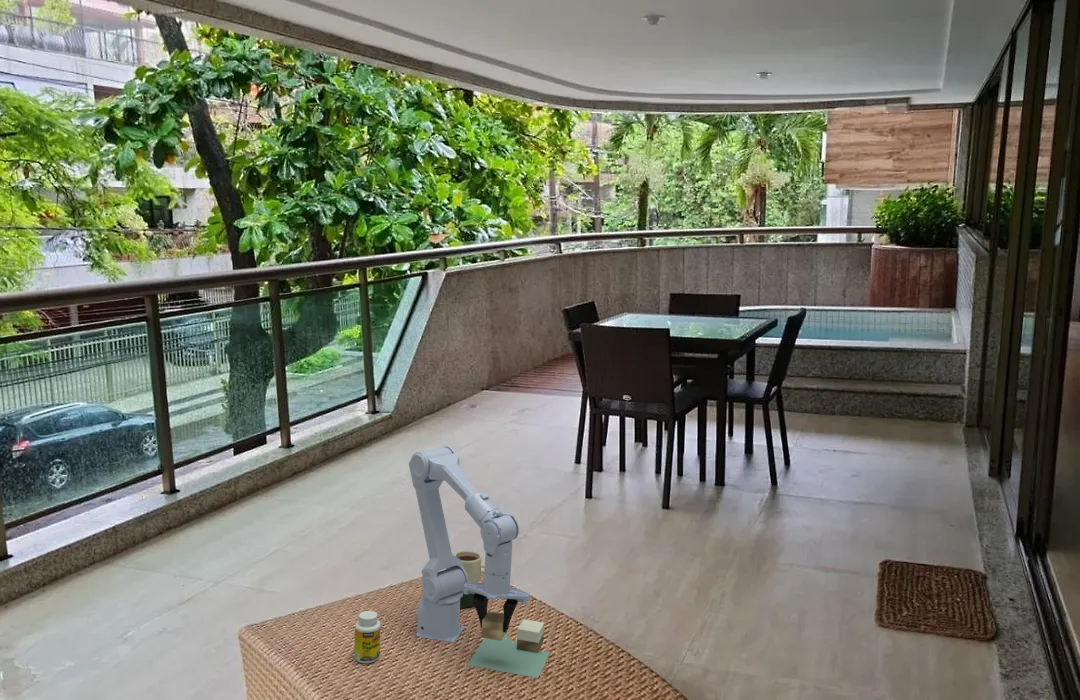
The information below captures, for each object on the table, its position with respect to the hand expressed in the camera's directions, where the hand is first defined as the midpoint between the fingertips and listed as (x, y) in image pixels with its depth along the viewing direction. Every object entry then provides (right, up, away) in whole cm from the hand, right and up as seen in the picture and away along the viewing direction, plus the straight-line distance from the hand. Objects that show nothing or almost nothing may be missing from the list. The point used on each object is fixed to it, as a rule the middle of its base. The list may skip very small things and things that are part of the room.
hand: (494, 628), depth 186 cm
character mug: (-9, -4, +29) cm, 30 cm away
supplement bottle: (-28, -7, +1) cm, 29 cm away
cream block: (+8, -5, +9) cm, 13 cm away
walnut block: (+8, -7, +9) cm, 14 cm away
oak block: (0, -1, 0) cm, 1 cm away
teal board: (+4, -8, +5) cm, 10 cm away
